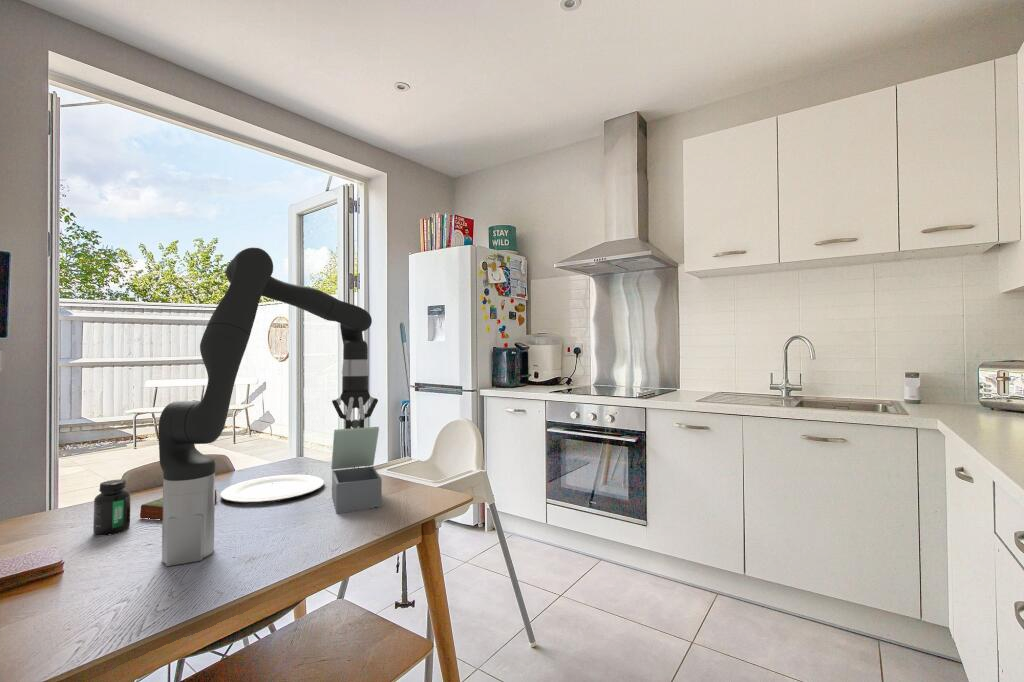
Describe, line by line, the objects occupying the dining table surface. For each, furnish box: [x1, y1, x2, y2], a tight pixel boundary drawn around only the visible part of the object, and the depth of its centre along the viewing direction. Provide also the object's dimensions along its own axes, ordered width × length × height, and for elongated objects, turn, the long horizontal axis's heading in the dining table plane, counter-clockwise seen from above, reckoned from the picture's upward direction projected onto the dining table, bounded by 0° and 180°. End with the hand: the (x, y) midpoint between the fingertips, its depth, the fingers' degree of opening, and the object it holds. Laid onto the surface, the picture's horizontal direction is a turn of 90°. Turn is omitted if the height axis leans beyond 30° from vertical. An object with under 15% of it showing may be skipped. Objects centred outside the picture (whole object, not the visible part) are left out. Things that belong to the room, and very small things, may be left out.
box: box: [331, 465, 383, 514], centre depth 135 cm, size 16×12×8 cm
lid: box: [330, 419, 380, 471], centre depth 140 cm, size 16×12×6 cm
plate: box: [220, 474, 325, 504], centre depth 145 cm, size 29×29×2 cm
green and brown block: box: [139, 489, 218, 520], centre depth 128 cm, size 8×16×4 cm, turn 167°
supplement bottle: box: [92, 478, 132, 537], centre depth 113 cm, size 7×7×12 cm
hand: (354, 431), depth 139 cm, fingers closed on lid, 2 cm apart
